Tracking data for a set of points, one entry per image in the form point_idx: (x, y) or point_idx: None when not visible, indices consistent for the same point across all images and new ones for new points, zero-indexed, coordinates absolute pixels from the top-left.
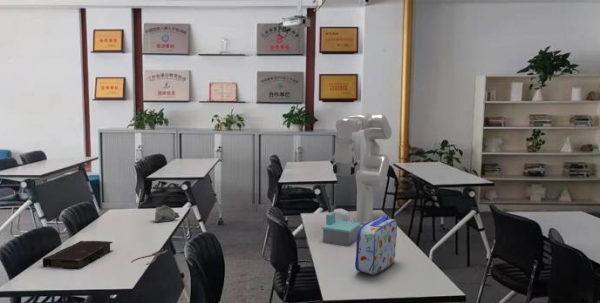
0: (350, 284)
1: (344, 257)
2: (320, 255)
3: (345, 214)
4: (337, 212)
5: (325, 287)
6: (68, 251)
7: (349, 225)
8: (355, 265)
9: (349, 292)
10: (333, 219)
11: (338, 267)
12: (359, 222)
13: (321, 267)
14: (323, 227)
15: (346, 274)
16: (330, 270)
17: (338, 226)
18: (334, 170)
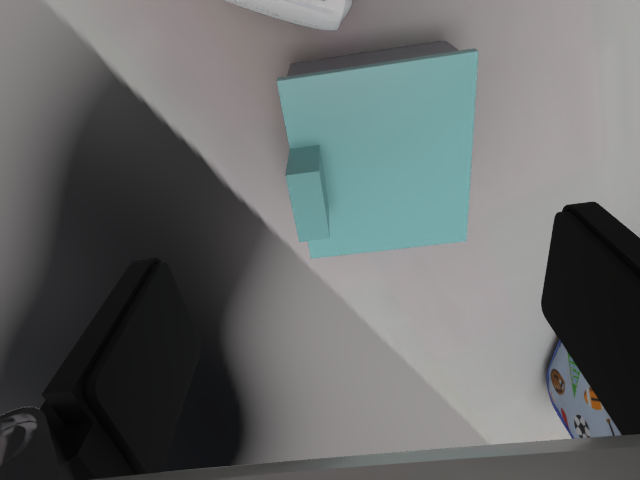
0: (541, 417)
1: (469, 301)
2: (387, 323)
3: (337, 28)
4: (249, 9)
5: (490, 443)
6: None
7: (429, 159)
8: (554, 406)
9: (548, 440)
10: (323, 180)
11: (480, 364)
12: (467, 55)
13: (435, 382)
14: (319, 256)
15: (516, 386)
16: (466, 385)
17: (381, 209)
18: (180, 395)
